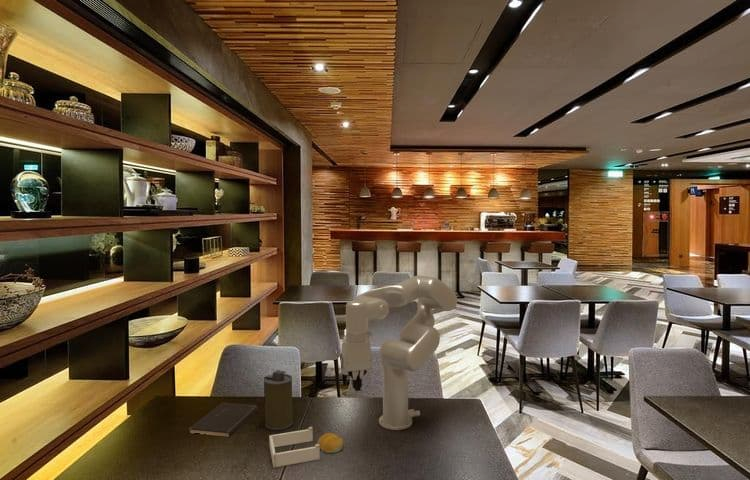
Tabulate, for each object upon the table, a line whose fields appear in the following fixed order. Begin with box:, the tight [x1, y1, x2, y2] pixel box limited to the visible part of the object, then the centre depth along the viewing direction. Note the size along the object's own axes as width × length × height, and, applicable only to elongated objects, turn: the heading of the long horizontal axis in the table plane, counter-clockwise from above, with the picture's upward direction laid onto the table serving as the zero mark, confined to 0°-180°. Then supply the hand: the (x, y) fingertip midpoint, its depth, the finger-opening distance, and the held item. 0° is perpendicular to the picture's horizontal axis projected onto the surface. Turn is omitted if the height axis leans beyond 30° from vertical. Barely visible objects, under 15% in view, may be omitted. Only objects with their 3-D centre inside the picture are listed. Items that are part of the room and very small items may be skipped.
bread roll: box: [316, 432, 345, 454], centre depth 149 cm, size 8×9×4 cm
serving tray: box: [268, 426, 321, 468], centre depth 145 cm, size 15×14×5 cm
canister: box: [263, 369, 294, 431], centre depth 165 cm, size 11×10×20 cm
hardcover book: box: [188, 402, 259, 438], centre depth 168 cm, size 16×23×2 cm
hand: (357, 389), depth 151 cm, fingers closed
